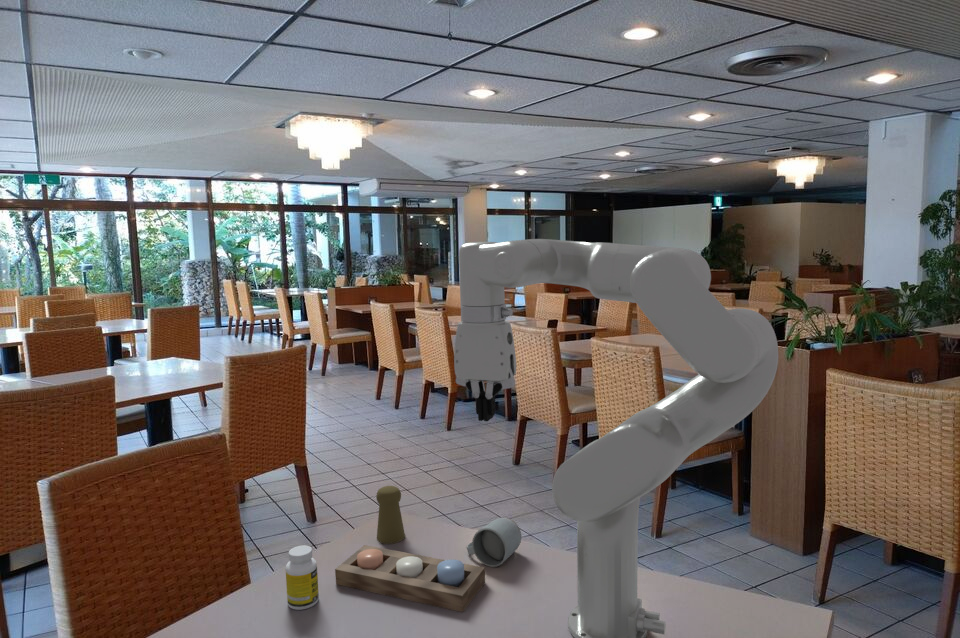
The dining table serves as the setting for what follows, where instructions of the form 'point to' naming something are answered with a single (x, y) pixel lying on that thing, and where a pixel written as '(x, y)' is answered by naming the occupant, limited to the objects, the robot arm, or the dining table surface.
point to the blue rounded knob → (450, 572)
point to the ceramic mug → (495, 542)
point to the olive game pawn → (389, 515)
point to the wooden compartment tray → (411, 580)
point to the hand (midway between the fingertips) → (486, 418)
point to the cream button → (409, 567)
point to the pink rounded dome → (370, 559)
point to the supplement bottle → (301, 578)
